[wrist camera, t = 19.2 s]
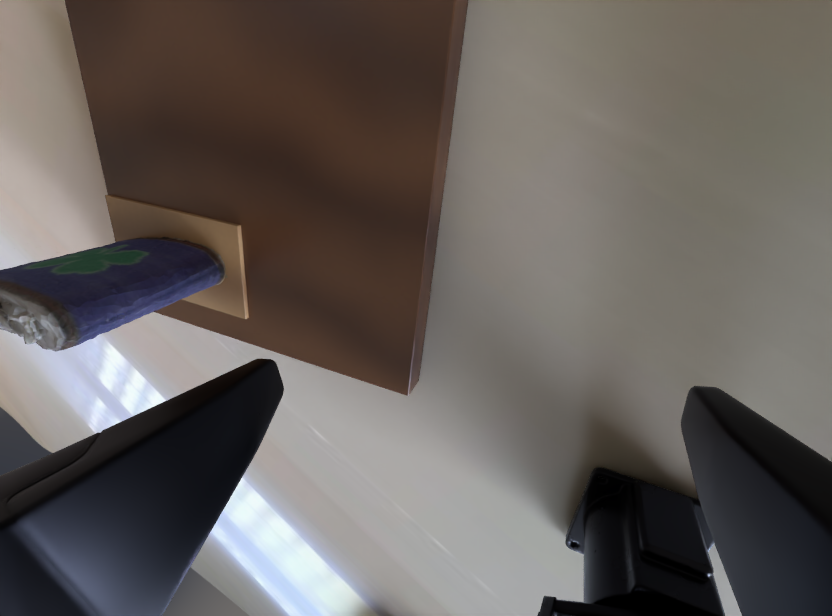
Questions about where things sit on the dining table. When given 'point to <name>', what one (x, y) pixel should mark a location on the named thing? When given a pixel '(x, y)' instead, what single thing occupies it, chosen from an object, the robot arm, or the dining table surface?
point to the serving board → (284, 161)
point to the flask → (102, 288)
